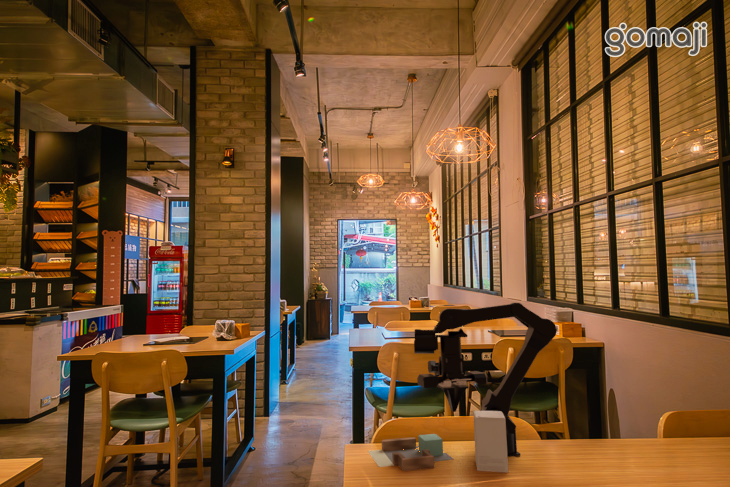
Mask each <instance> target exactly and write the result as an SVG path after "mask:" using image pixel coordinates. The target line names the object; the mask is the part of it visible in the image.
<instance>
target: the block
mask: <svg viewBox="0 0 730 487" xmlns="http://www.w3.org/2000/svg"><path fill="white" fill-rule="evenodd" d="M417 436H418V437H417V438H418V441H417V442H418V446H419V451H420V452H421V453H422V450H426V449H428V450H429V451H430V454H431V455H432V456H440V455H443V451H444V444H443V443H444V441H443V438H441V437H440V436H439V435H438V434H436V433H429V434H427V433H426V434H418V435H417Z"/></svg>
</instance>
